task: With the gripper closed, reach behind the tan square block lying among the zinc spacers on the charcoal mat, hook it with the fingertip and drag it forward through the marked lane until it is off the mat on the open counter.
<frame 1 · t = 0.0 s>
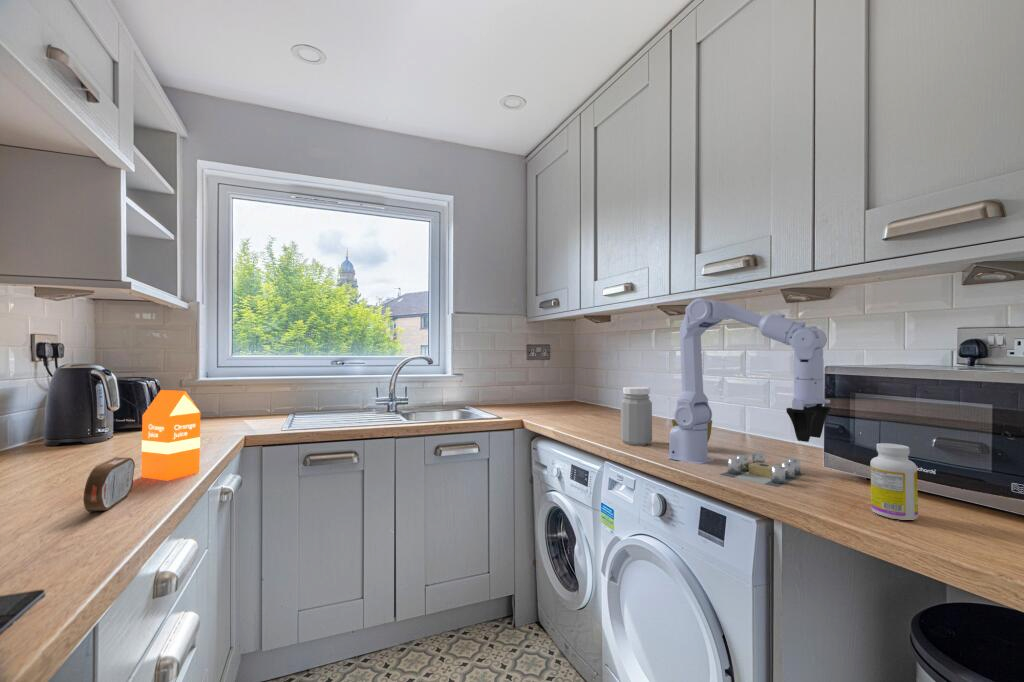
hand: (809, 439, 105), 10 cm above the countertop, tool pointing down, fingers open, 7 cm apart
supplement bottle: (893, 516, 84), on the countertop
flower pot: (692, 449, 141), on the countertop
tin: (111, 505, 89), on the countertop
spacers: (764, 466, 112), on the mat
mat: (762, 475, 111), on the countertop
tan square block: (763, 474, 111), resting on mat
jar: (636, 443, 150), on the countertop
orange juice: (170, 475, 110), on the countertop
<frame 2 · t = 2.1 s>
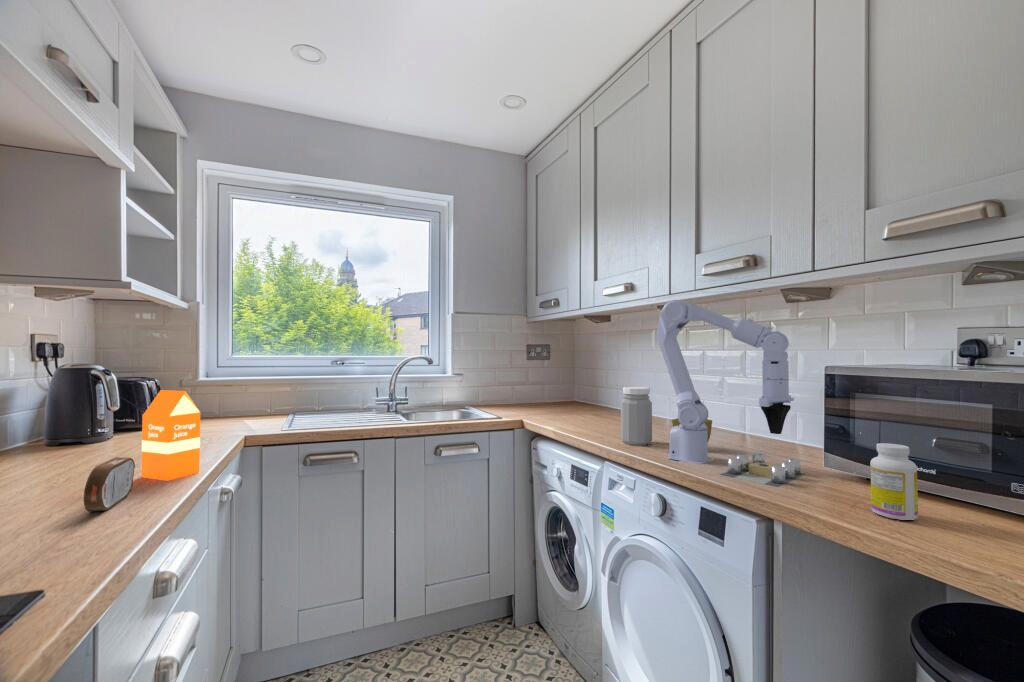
hand: (775, 433, 115), 9 cm above the countertop, tool pointing down, fingers closed
nothing on the countertop moved.
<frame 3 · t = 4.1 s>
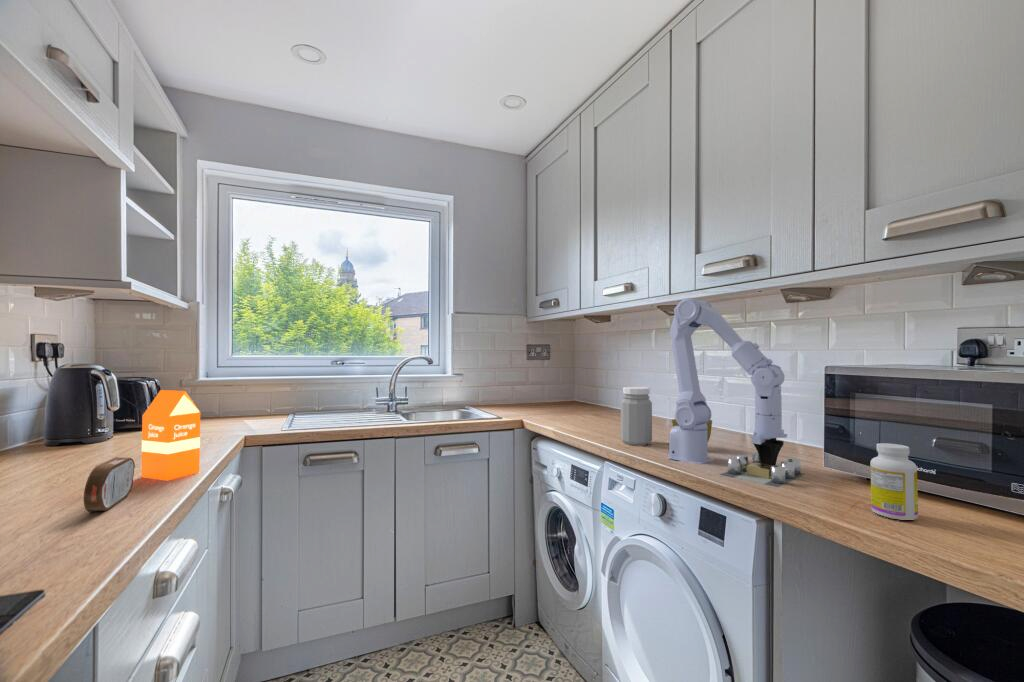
hand: (768, 470, 112), 1 cm above the countertop, tool pointing down, fingers closed
tan square block: (762, 475, 110), resting on mat
everything else where it was.
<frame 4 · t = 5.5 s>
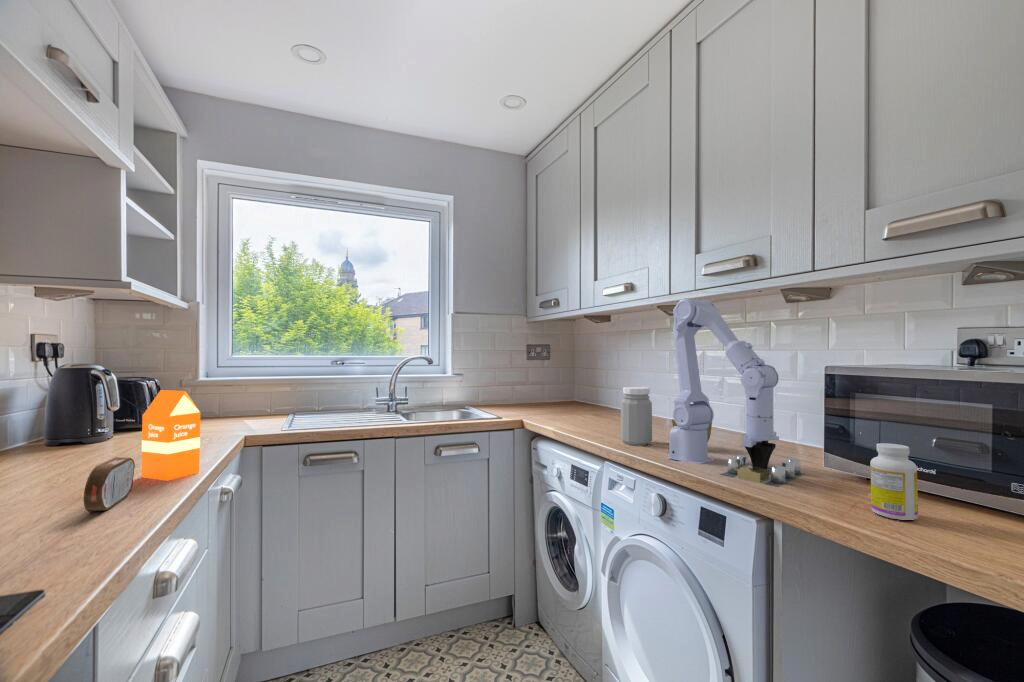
hand: (759, 473, 109), 1 cm above the countertop, tool pointing down, fingers closed
tan square block: (753, 478, 107), resting on mat, touching gripper
everything else where it was.
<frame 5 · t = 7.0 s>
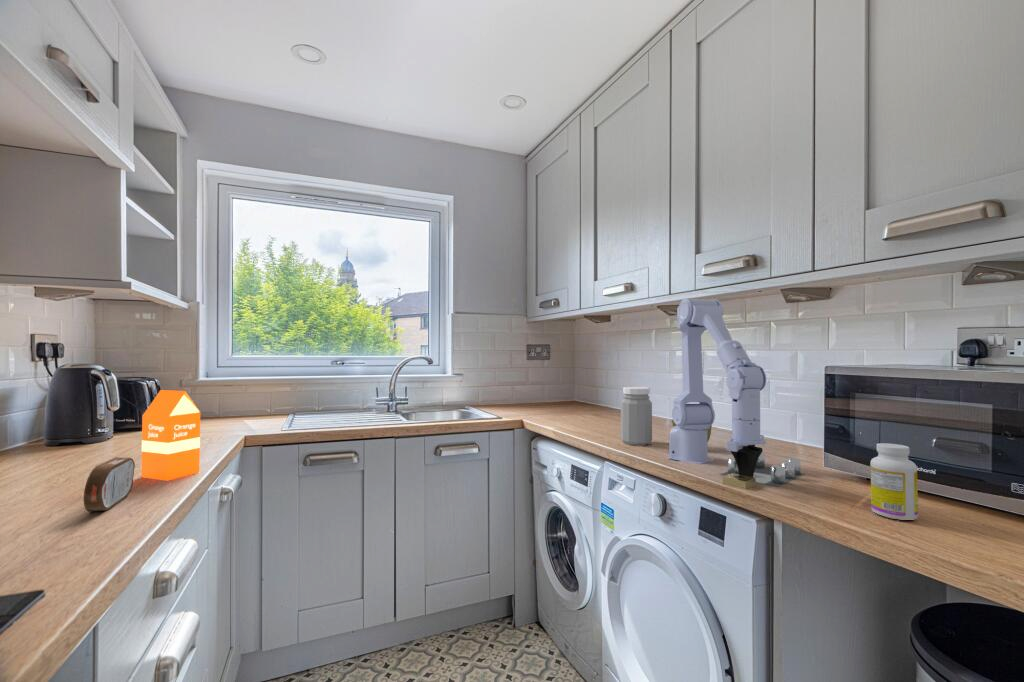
hand: (746, 479, 104), 1 cm above the countertop, tool pointing down, fingers closed
tan square block: (739, 487, 102), on the countertop, touching gripper
everything else where it was.
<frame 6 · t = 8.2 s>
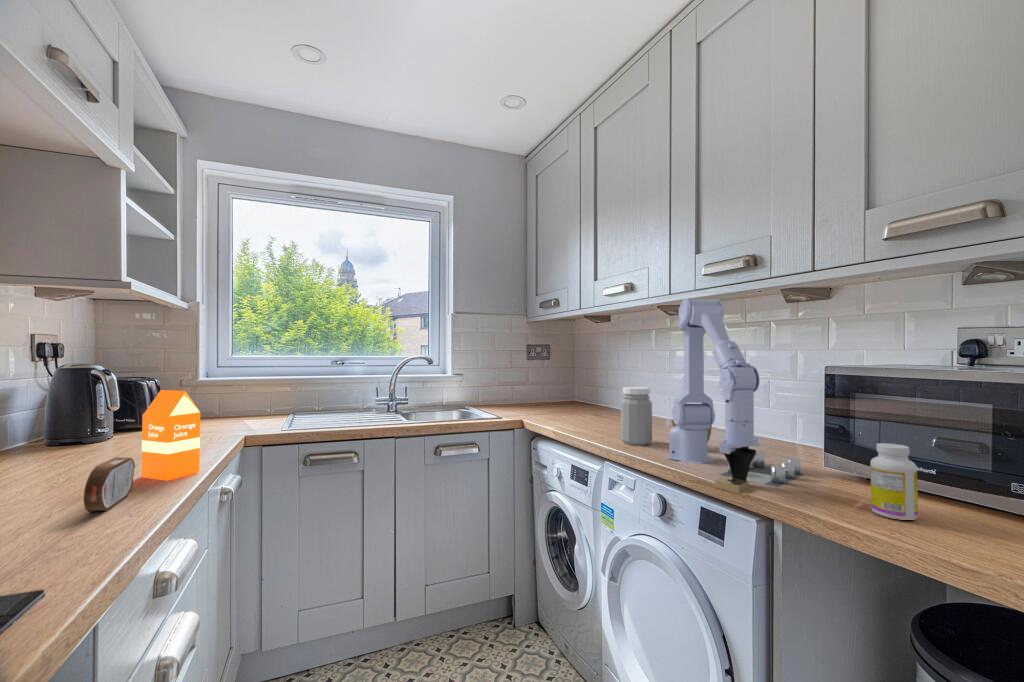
hand: (739, 481, 102), 1 cm above the countertop, tool pointing down, fingers closed
tan square block: (732, 490, 100), on the countertop
everything else where it was.
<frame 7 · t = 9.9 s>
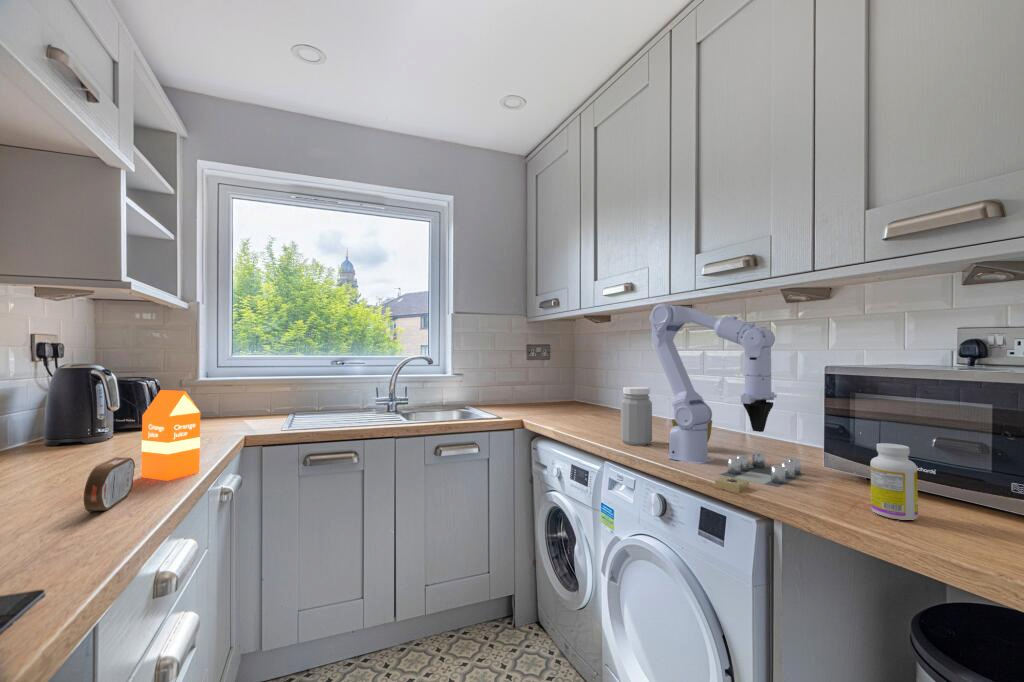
hand: (758, 431, 113), 10 cm above the countertop, tool pointing down, fingers closed
nothing on the countertop moved.
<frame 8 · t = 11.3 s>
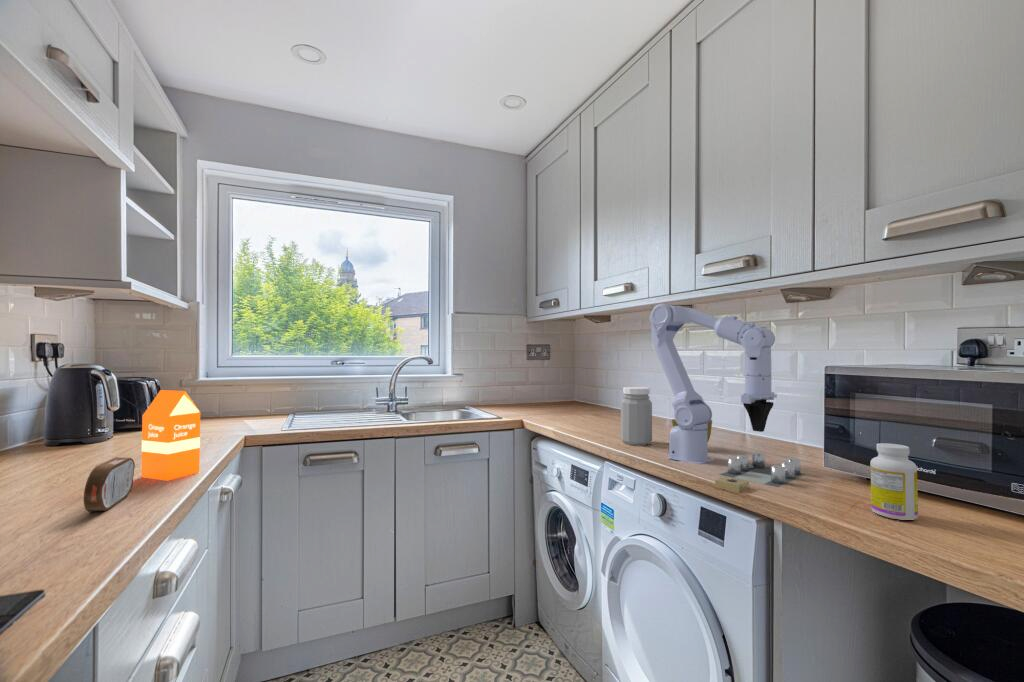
hand: (758, 431, 113), 10 cm above the countertop, tool pointing down, fingers closed
nothing on the countertop moved.
at the end: tan square block inside the target area (0.5 cm from its centre), on the countertop; tan square block moved 16.5 cm from its start; tan square block tilted 0° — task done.
